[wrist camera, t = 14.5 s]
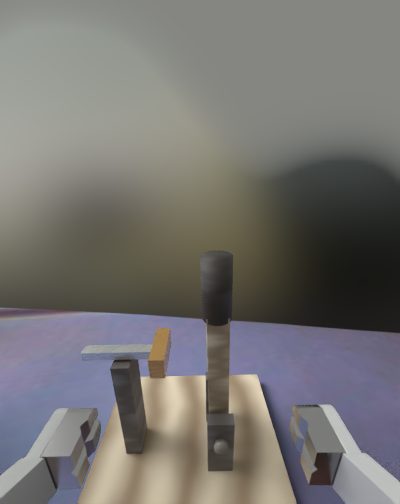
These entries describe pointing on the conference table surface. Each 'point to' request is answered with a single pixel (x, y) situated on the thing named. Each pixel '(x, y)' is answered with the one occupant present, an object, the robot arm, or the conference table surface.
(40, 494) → the robot arm
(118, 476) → the frame
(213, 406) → the lever
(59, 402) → the conference table surface
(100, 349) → the pin
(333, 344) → the conference table surface
